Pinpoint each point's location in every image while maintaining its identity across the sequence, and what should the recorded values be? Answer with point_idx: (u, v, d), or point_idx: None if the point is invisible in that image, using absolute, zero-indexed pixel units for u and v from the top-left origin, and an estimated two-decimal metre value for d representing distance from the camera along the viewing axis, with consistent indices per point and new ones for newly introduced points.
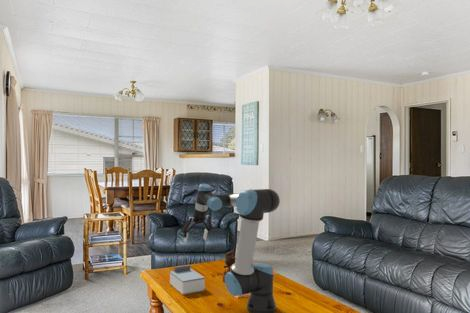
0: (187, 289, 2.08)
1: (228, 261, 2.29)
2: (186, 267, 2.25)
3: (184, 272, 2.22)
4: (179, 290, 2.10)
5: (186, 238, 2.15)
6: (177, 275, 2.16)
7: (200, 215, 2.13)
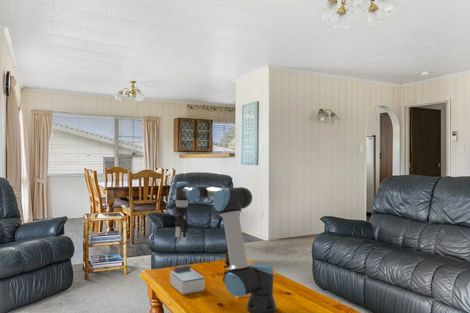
0: (187, 289, 2.08)
1: (228, 261, 2.29)
2: (186, 267, 2.25)
3: (184, 272, 2.22)
4: (179, 290, 2.10)
5: None
6: (177, 275, 2.16)
7: None
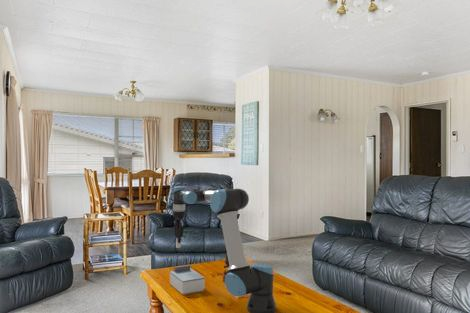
0: (187, 289, 2.08)
1: (228, 261, 2.29)
2: (186, 267, 2.25)
3: (184, 272, 2.22)
4: (179, 290, 2.10)
5: (180, 242, 2.31)
6: (177, 275, 2.16)
7: (184, 214, 2.31)
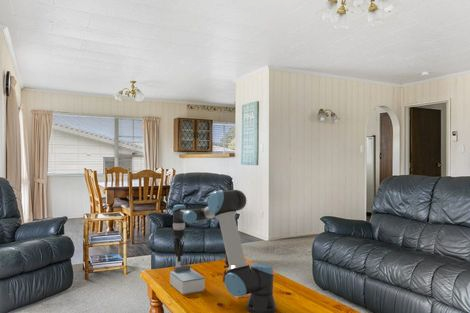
0: (187, 289, 2.08)
1: None
2: (186, 267, 2.25)
3: (184, 272, 2.22)
4: (179, 290, 2.10)
5: (180, 261, 2.31)
6: (177, 275, 2.16)
7: (184, 232, 2.31)
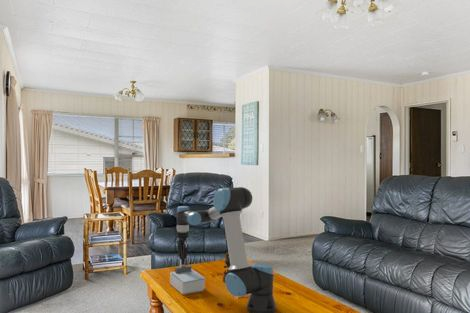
0: (187, 289, 2.08)
1: (228, 261, 2.29)
2: (187, 268, 2.24)
3: (185, 273, 2.21)
4: (179, 290, 2.10)
5: (184, 264, 2.25)
6: (178, 276, 2.15)
7: (188, 235, 2.26)
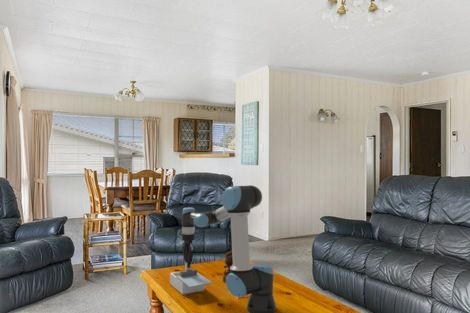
0: (187, 289, 2.08)
1: (228, 261, 2.29)
2: (193, 271, 2.17)
3: (191, 277, 2.14)
4: (179, 290, 2.10)
5: None
6: (184, 280, 2.08)
7: None
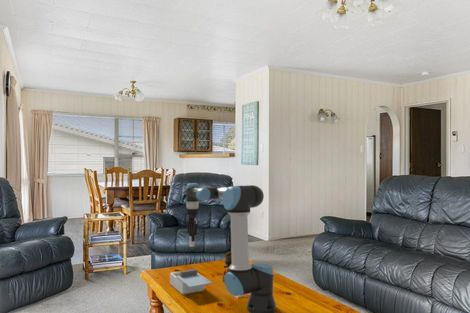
0: (187, 289, 2.08)
1: (228, 261, 2.29)
2: (193, 271, 2.17)
3: (191, 277, 2.13)
4: (179, 290, 2.10)
5: None
6: (184, 280, 2.08)
7: None
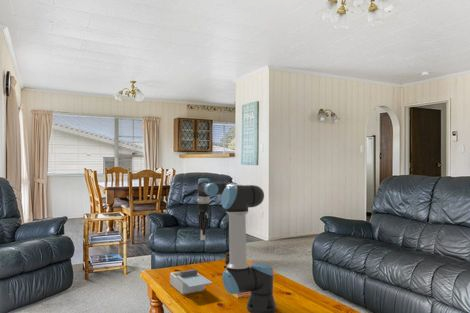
0: (187, 289, 2.08)
1: (228, 261, 2.29)
2: (193, 271, 2.17)
3: (191, 277, 2.13)
4: (179, 290, 2.10)
5: None
6: (184, 280, 2.08)
7: None
